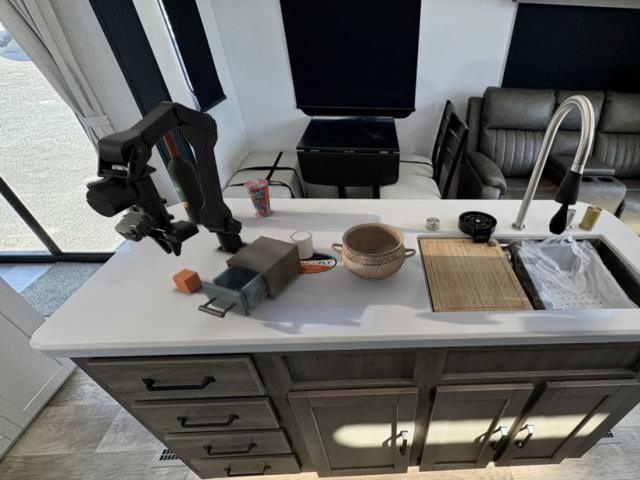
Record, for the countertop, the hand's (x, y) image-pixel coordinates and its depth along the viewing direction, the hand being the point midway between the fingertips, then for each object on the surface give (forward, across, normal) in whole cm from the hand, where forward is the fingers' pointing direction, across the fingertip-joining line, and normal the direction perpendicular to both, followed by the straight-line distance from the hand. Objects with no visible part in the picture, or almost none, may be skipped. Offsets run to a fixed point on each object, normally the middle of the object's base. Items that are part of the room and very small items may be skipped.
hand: (174, 254), depth 85 cm
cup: (+11, -10, +45) cm, 47 cm away
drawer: (+10, +18, 0) cm, 21 cm away
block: (+11, 0, 0) cm, 11 cm away
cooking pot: (+11, +45, +27) cm, 54 cm away
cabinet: (+11, +18, +12) cm, 24 cm away
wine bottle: (+11, -28, +32) cm, 44 cm away
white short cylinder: (+11, +20, +27) cm, 35 cm away
